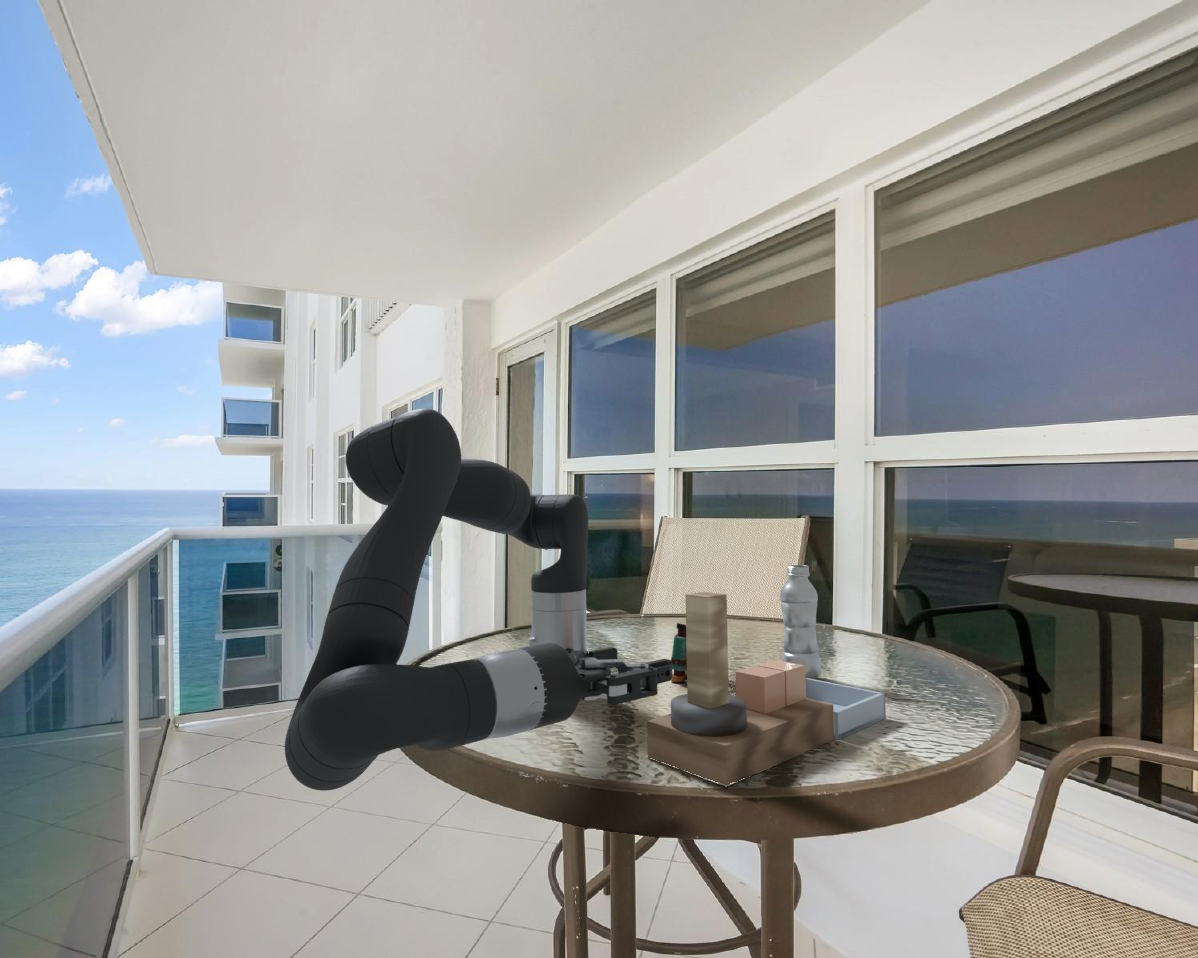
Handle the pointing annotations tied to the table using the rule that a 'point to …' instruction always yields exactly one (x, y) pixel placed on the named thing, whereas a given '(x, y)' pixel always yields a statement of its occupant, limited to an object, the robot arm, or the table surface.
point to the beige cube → (791, 680)
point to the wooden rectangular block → (744, 742)
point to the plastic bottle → (800, 620)
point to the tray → (848, 705)
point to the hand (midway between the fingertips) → (641, 662)
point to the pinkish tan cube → (761, 688)
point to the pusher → (707, 673)
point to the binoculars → (679, 655)
